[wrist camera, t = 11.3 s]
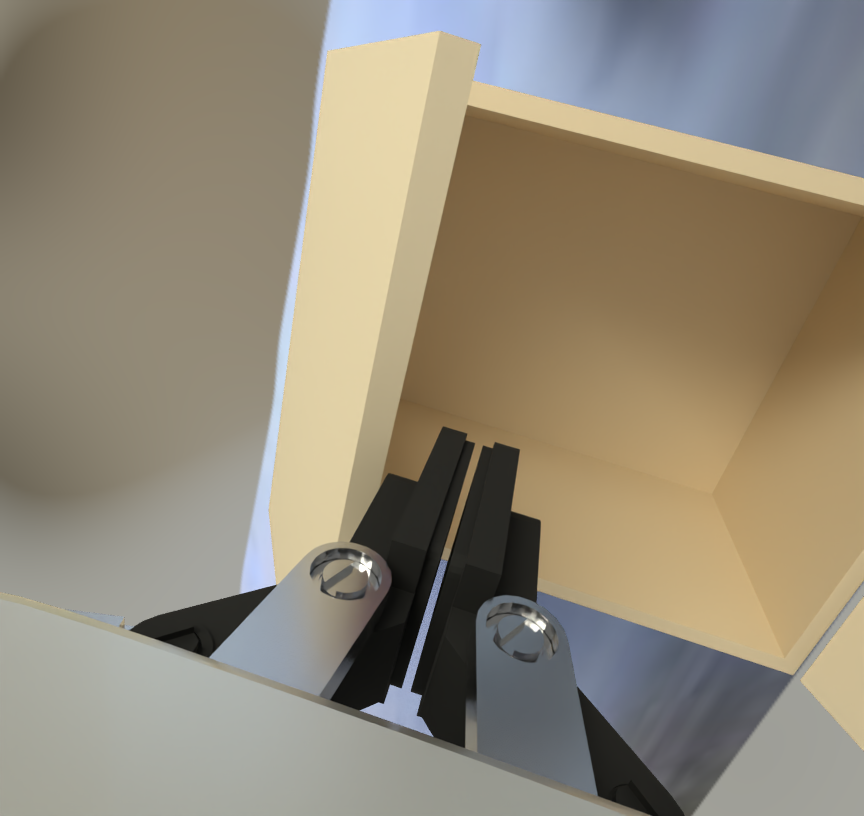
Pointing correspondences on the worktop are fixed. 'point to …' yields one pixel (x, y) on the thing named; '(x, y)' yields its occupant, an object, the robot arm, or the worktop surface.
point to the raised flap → (842, 675)
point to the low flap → (362, 276)
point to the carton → (653, 368)
